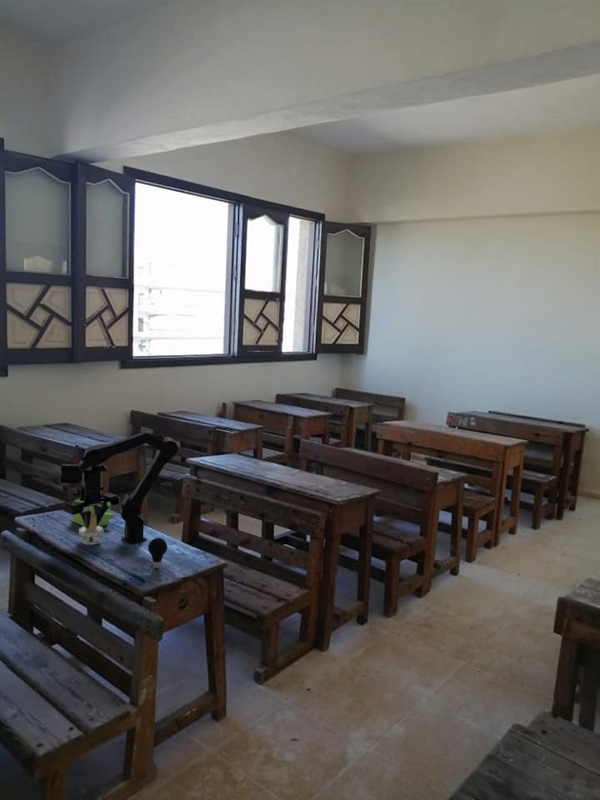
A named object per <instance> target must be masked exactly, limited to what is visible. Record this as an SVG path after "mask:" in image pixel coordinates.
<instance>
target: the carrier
mask: <svg viewBox="0 0 600 800" xmlns="http://www.w3.org/2000/svg"><path fill="white" fill-rule="evenodd" d="M100 542H101V538H100V537H98V536H96V537H94V536H91V537H88V536H85V537H83V538H82V539H81V544H82V545H84V544H85V545H84V546H95V544H96V545H98V543H99V544H100Z"/></svg>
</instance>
